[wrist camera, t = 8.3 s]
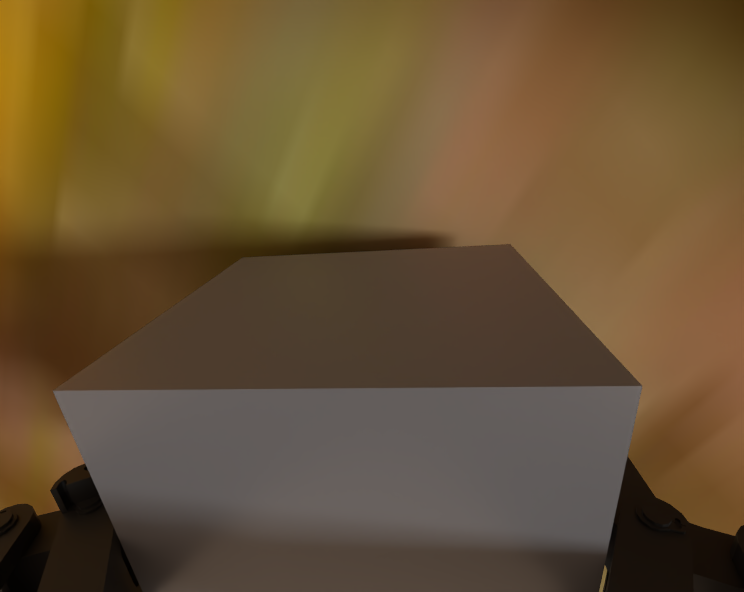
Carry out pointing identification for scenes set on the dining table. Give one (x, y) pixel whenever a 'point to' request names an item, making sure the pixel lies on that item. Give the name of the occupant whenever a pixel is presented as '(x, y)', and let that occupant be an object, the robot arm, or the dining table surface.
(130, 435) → the grey block
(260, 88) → the dining table surface
